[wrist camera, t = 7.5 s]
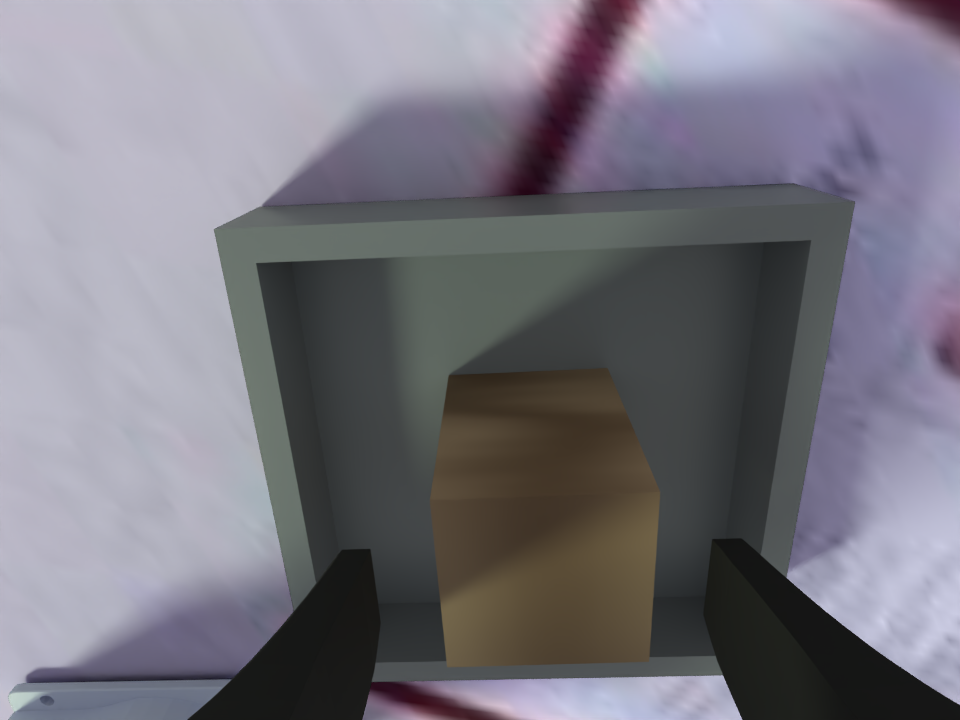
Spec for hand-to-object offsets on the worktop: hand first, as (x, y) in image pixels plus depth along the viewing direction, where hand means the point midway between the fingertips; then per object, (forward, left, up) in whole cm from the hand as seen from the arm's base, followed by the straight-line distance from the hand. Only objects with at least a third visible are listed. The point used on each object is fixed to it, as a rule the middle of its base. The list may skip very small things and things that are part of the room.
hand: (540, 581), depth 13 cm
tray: (0, 0, -7) cm, 7 cm away
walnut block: (0, 0, -6) cm, 6 cm away
